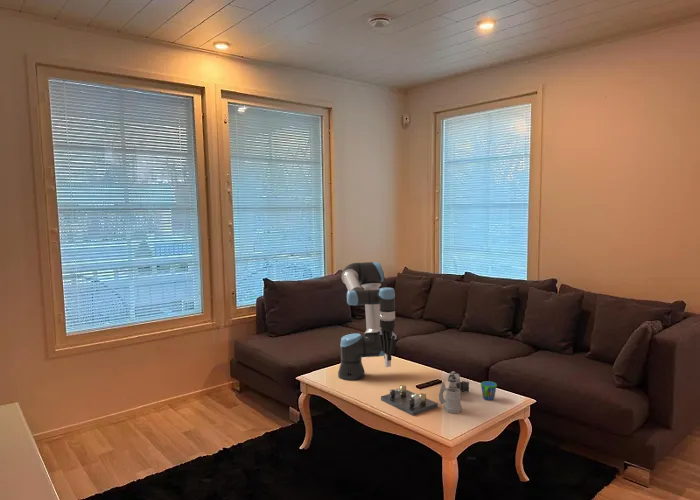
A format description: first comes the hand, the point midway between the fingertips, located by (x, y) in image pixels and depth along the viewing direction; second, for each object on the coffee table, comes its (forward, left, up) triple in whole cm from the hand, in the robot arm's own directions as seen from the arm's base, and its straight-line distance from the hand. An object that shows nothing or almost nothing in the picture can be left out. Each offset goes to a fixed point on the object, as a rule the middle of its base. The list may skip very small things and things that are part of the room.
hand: (387, 366), depth 248 cm
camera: (+17, +33, -17) cm, 40 cm away
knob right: (+19, +6, -14) cm, 24 cm away
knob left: (+5, +6, -14) cm, 16 cm away
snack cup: (+30, +40, -17) cm, 52 cm away
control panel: (+11, +4, -16) cm, 20 cm away
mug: (+28, +14, -17) cm, 35 cm away
